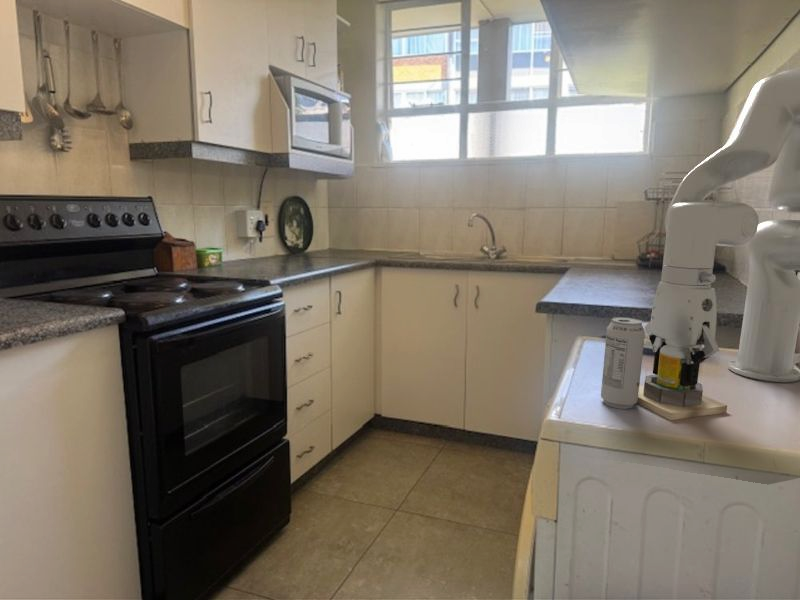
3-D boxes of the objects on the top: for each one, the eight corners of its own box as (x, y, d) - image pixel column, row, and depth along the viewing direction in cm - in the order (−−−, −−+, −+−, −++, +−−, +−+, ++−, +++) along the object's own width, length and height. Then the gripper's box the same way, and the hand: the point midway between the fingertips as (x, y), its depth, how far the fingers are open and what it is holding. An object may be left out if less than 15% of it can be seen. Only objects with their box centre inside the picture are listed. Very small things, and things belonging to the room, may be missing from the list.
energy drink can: (644, 409, 93) (653, 324, 90) (611, 410, 92) (620, 324, 89) (624, 396, 99) (633, 315, 96) (593, 397, 98) (601, 316, 95)
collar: (671, 388, 103) (673, 369, 103) (726, 412, 92) (729, 391, 91) (619, 394, 100) (621, 375, 99) (670, 420, 88) (672, 398, 88)
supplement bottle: (666, 381, 99) (672, 330, 97) (696, 390, 95) (702, 337, 93) (649, 387, 96) (655, 334, 94) (678, 396, 92) (685, 342, 90)
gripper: (749, 284, 85) (733, 394, 88) (664, 269, 101) (654, 362, 104) (712, 286, 82) (697, 399, 86) (631, 270, 98) (622, 366, 102)
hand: (674, 378), depth 95 cm, fingers closed on supplement bottle, 5 cm apart
